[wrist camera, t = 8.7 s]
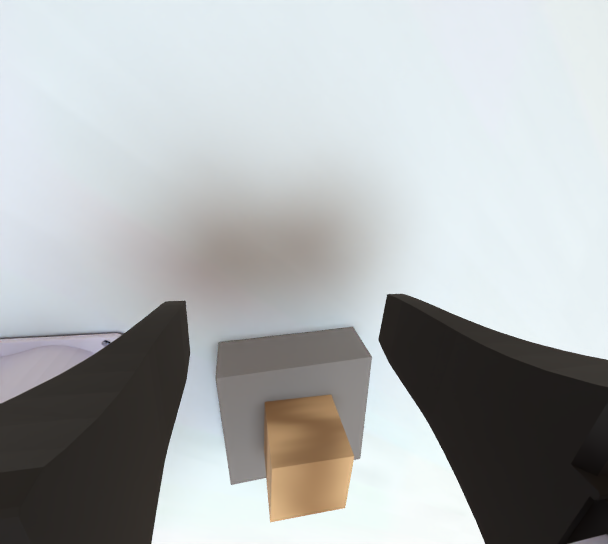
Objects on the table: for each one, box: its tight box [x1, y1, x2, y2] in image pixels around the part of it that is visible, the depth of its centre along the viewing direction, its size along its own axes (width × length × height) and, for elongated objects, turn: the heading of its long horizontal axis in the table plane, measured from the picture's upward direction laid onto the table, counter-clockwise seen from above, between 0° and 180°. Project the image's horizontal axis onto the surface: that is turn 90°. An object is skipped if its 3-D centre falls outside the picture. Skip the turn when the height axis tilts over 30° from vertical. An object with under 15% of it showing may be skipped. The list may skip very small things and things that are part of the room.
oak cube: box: [264, 395, 354, 522], centre depth 19 cm, size 4×4×4 cm
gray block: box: [216, 327, 372, 485], centre depth 23 cm, size 10×10×4 cm
